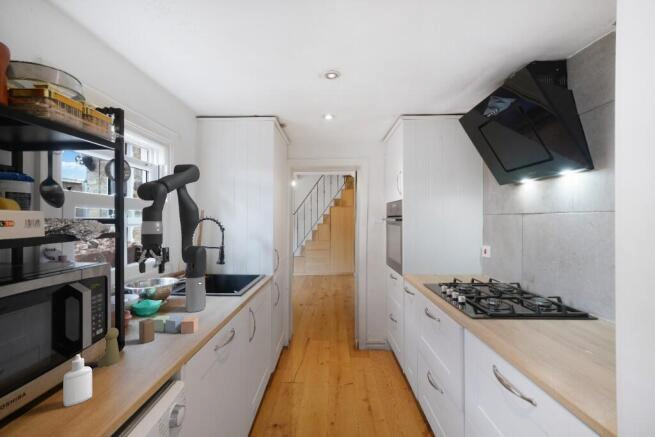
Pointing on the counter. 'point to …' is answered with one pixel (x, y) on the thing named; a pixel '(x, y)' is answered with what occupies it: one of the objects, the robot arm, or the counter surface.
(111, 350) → the olive pawn
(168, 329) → the slate blue cube
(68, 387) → the eye dropper bottle
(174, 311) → the counter surface
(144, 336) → the wooden block
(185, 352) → the counter surface
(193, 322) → the terracotta cube
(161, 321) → the sage cube
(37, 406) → the counter surface
